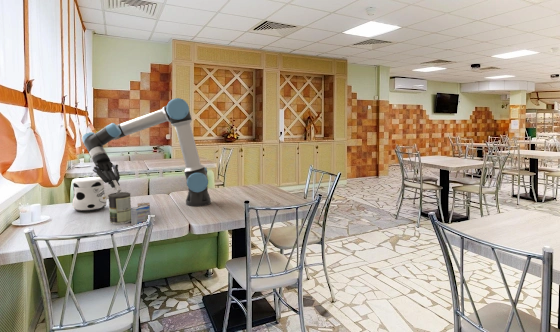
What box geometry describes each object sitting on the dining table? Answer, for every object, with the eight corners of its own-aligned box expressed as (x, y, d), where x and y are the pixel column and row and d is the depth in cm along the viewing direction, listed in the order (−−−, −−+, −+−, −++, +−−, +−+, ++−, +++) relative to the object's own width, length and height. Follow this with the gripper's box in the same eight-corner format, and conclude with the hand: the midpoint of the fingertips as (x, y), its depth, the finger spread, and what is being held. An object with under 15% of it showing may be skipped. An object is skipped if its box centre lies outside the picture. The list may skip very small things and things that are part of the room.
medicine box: (136, 226, 168) (136, 209, 167) (131, 225, 170) (130, 207, 169) (150, 222, 175) (149, 205, 174) (145, 221, 177) (144, 204, 176)
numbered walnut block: (150, 215, 189) (149, 202, 188) (150, 217, 184) (149, 204, 183) (138, 216, 187) (137, 203, 186) (138, 218, 181) (137, 205, 180)
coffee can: (106, 224, 171) (104, 196, 170) (114, 218, 182) (112, 192, 180) (128, 223, 172) (126, 196, 171) (134, 218, 183) (133, 192, 181)
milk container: (111, 209, 201) (109, 179, 199) (79, 215, 189) (76, 182, 187) (100, 204, 213) (98, 175, 211) (69, 209, 200) (66, 179, 198)
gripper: (109, 160, 190) (128, 194, 182) (85, 163, 179) (103, 198, 172) (114, 151, 186) (133, 185, 179) (89, 153, 176) (108, 189, 168)
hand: (118, 191), depth 175 cm, fingers closed
